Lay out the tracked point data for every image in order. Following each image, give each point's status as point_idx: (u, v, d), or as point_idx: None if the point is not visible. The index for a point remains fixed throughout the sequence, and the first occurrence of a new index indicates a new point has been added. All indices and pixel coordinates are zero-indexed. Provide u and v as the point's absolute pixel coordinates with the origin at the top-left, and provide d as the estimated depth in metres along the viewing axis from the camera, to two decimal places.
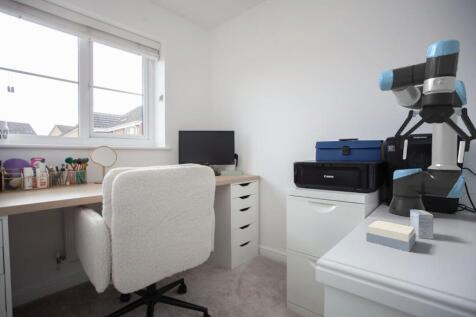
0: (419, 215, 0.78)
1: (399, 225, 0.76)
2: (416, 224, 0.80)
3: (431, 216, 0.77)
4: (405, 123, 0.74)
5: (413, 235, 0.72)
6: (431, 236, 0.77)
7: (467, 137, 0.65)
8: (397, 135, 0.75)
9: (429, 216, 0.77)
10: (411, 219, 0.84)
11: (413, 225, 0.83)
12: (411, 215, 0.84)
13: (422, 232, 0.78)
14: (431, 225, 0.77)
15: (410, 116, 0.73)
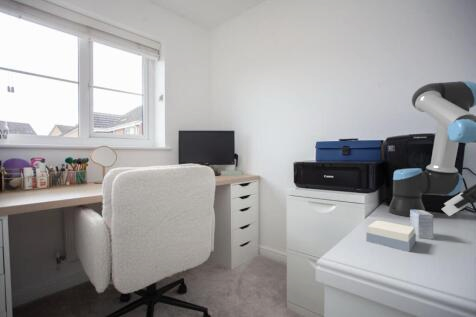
0: (419, 215, 0.78)
1: (399, 225, 0.76)
2: (416, 224, 0.80)
3: (431, 216, 0.77)
4: None
5: (413, 235, 0.72)
6: (431, 236, 0.77)
7: None
8: None
9: (429, 216, 0.77)
10: (411, 219, 0.84)
11: (412, 225, 0.83)
12: (411, 215, 0.84)
13: (422, 232, 0.78)
14: (431, 225, 0.77)
15: None
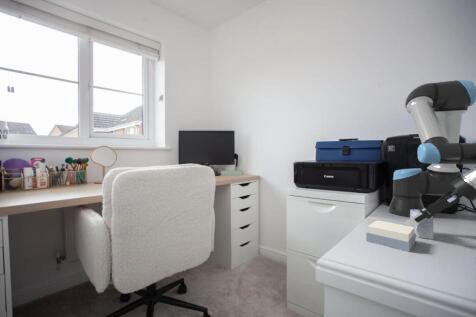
0: None
1: (399, 225, 0.76)
2: None
3: None
4: (443, 209, 0.72)
5: (413, 235, 0.72)
6: (431, 236, 0.77)
7: None
8: None
9: None
10: None
11: None
12: (411, 215, 0.84)
13: (422, 232, 0.78)
14: (431, 225, 0.77)
15: (451, 204, 0.71)
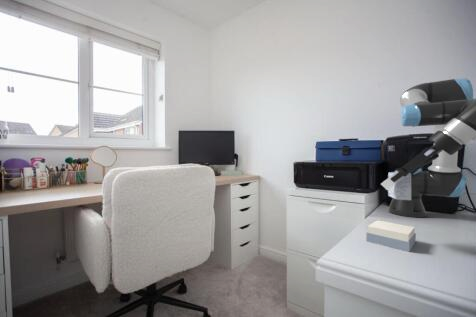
0: None
1: (399, 225, 0.76)
2: None
3: (409, 175, 0.70)
4: (421, 164, 0.65)
5: (413, 235, 0.72)
6: (409, 197, 0.70)
7: (412, 173, 0.76)
8: (407, 174, 0.67)
9: (407, 175, 0.70)
10: None
11: (390, 188, 0.76)
12: None
13: (399, 193, 0.71)
14: (409, 185, 0.70)
15: (429, 158, 0.65)
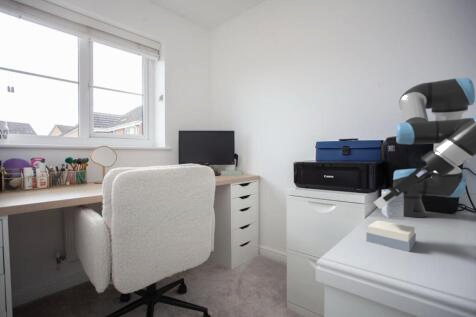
0: None
1: (399, 225, 0.76)
2: (386, 204, 0.73)
3: (401, 194, 0.70)
4: (412, 184, 0.65)
5: (413, 235, 0.72)
6: (402, 216, 0.70)
7: (406, 191, 0.76)
8: (399, 194, 0.67)
9: None
10: None
11: (383, 206, 0.76)
12: None
13: (392, 212, 0.71)
14: (401, 204, 0.70)
15: (420, 179, 0.64)
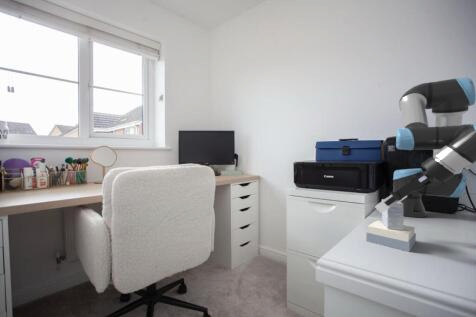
0: None
1: None
2: (386, 214, 0.73)
3: (401, 205, 0.70)
4: (414, 189, 0.64)
5: (413, 235, 0.72)
6: (401, 227, 0.70)
7: (410, 194, 0.77)
8: None
9: (399, 205, 0.70)
10: None
11: (383, 215, 0.76)
12: None
13: (392, 223, 0.71)
14: (401, 215, 0.70)
15: (422, 184, 0.64)
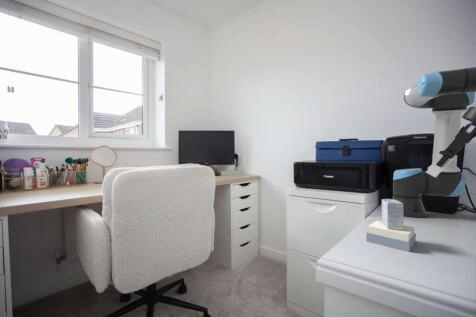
0: (388, 204, 0.71)
1: None
2: (386, 214, 0.73)
3: (401, 205, 0.70)
4: (466, 142, 0.60)
5: (413, 235, 0.72)
6: (401, 227, 0.70)
7: (457, 152, 0.72)
8: (454, 155, 0.61)
9: (399, 205, 0.70)
10: (382, 209, 0.77)
11: (383, 215, 0.76)
12: (382, 205, 0.77)
13: (392, 223, 0.71)
14: (401, 215, 0.70)
15: (472, 134, 0.60)
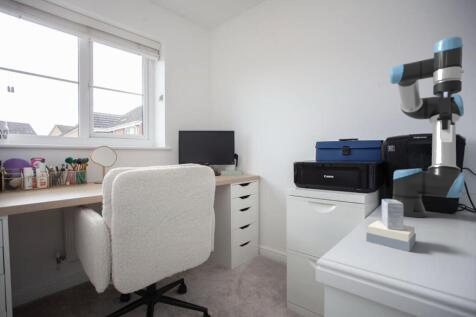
0: (388, 204, 0.71)
1: None
2: (386, 214, 0.73)
3: (401, 205, 0.70)
4: (450, 103, 0.74)
5: (413, 235, 0.72)
6: (401, 227, 0.70)
7: (452, 122, 0.84)
8: (449, 114, 0.73)
9: (399, 205, 0.70)
10: (382, 209, 0.77)
11: (383, 215, 0.76)
12: (382, 205, 0.77)
13: (392, 223, 0.71)
14: (401, 215, 0.70)
15: (450, 97, 0.75)
